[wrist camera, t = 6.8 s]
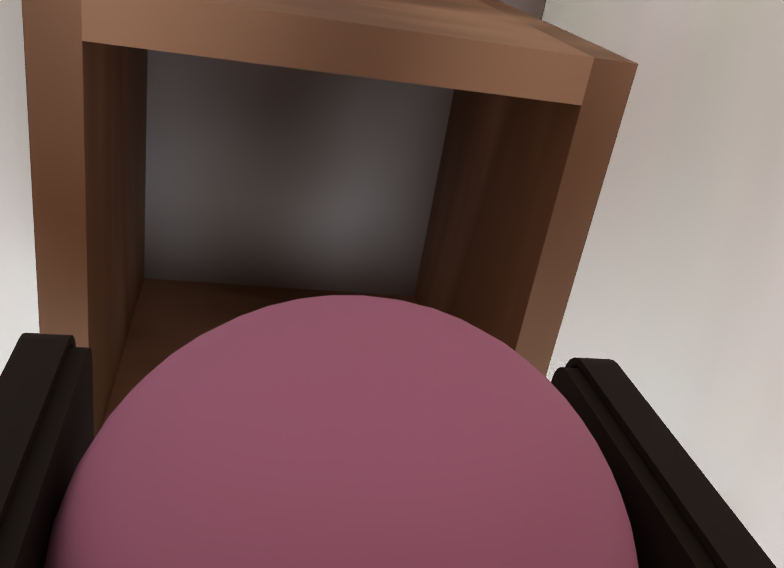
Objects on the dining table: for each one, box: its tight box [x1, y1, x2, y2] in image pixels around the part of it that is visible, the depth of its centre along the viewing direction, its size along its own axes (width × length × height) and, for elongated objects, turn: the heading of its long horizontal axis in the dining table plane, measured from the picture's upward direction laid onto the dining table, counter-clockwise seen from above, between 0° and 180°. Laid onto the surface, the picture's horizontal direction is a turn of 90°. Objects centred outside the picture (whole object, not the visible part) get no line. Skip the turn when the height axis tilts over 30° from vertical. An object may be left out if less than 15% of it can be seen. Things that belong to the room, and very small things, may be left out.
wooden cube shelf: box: [22, 0, 638, 438], centre depth 18 cm, size 12×12×9 cm
